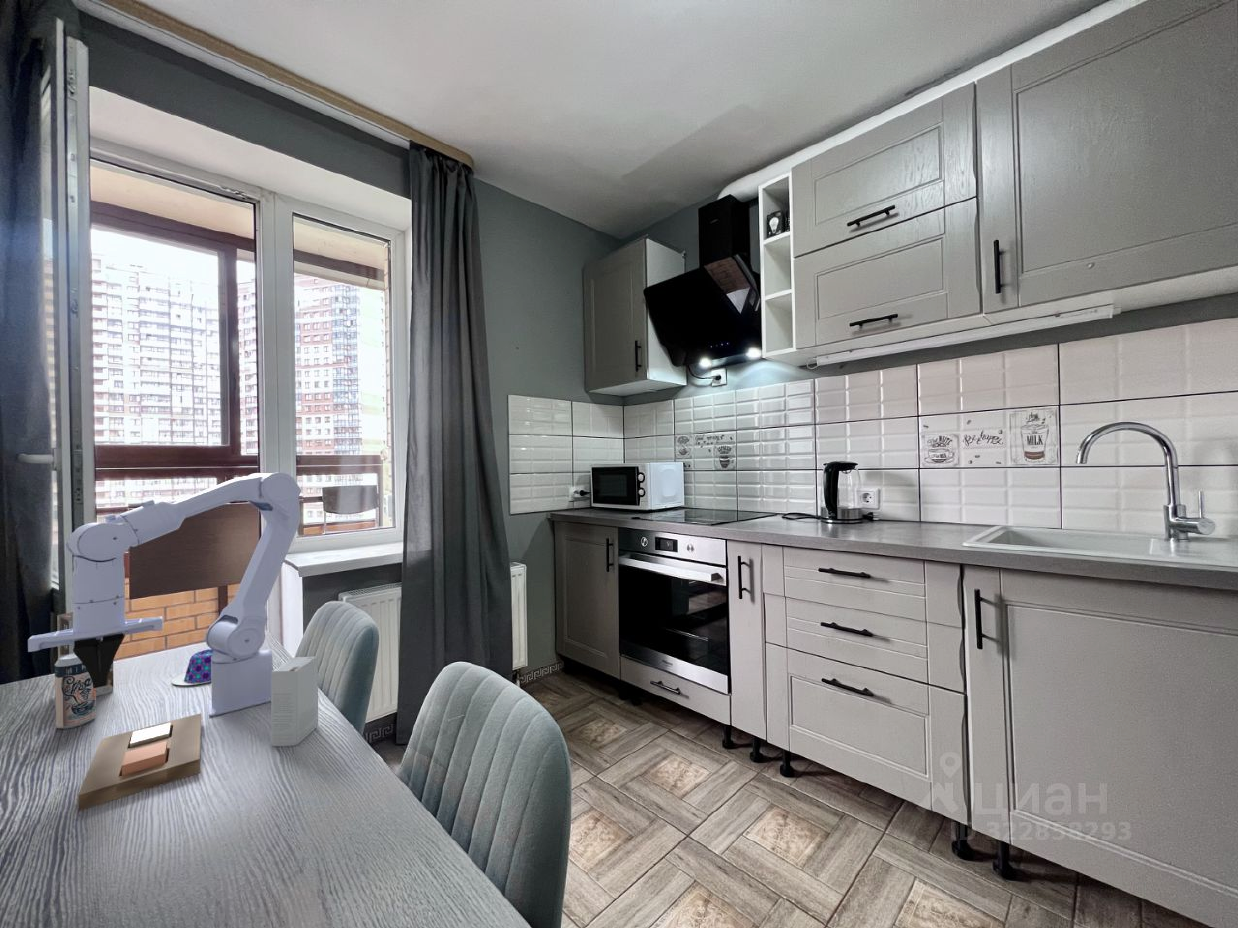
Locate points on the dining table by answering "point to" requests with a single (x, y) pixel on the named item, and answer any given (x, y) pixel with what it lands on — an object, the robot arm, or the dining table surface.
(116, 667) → the dining table surface
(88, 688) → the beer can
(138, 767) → the terracotta button
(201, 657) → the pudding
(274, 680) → the skincare box
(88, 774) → the button board
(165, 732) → the metal button
